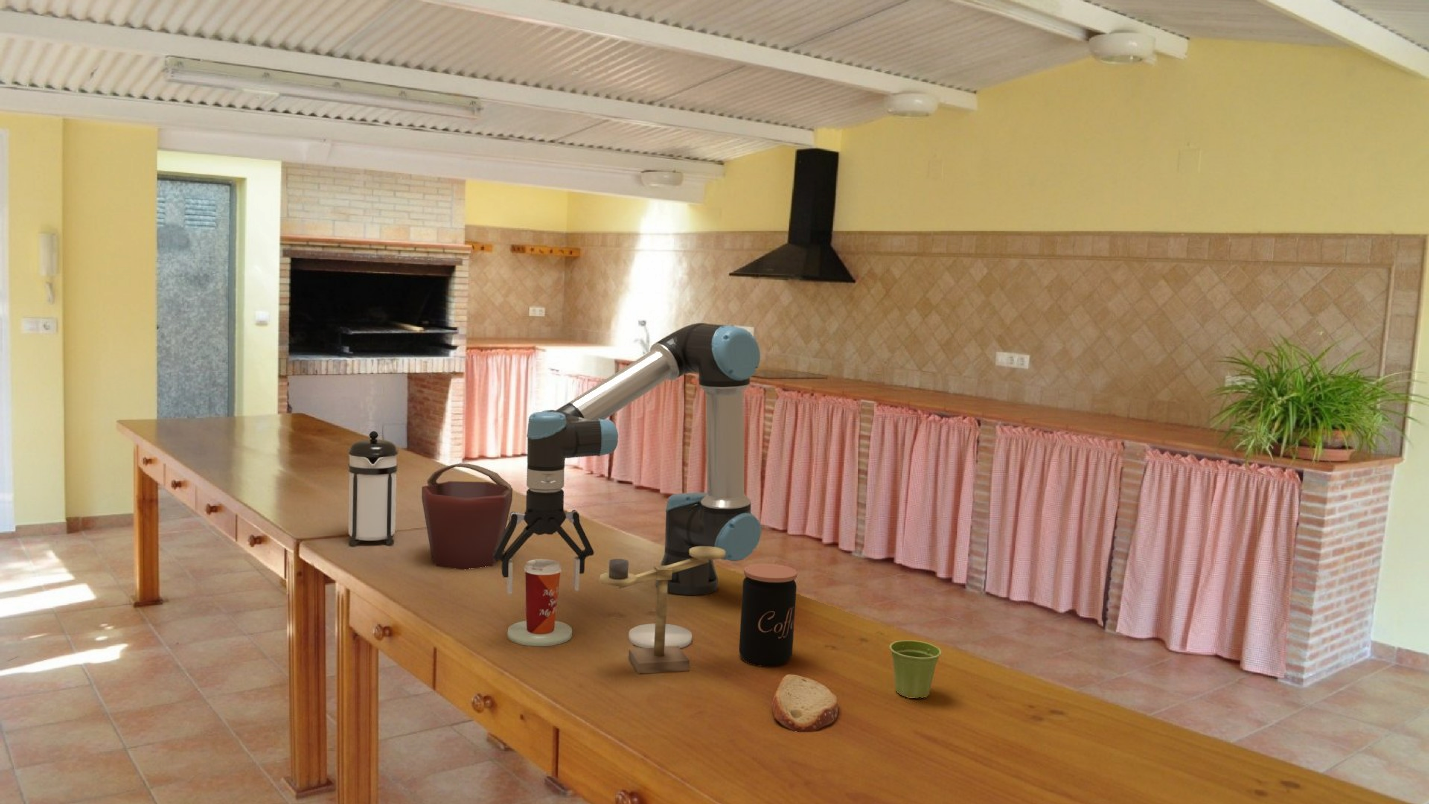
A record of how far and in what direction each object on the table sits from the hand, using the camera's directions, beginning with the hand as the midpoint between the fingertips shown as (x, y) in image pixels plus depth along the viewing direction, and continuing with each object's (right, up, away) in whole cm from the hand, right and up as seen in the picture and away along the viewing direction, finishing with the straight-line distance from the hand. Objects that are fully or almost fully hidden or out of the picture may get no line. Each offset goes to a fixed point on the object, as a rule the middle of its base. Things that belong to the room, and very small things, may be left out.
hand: (543, 590), depth 214 cm
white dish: (+24, -11, +2) cm, 26 cm away
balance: (+24, -12, -12) cm, 30 cm away
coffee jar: (+45, -13, -5) cm, 47 cm away
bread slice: (+50, -16, -28) cm, 60 cm away
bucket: (-29, -2, +53) cm, 61 cm away
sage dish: (-1, -9, +1) cm, 9 cm away
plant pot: (+72, -16, -20) cm, 76 cm away
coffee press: (-58, +1, +69) cm, 90 cm away
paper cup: (-1, -8, +1) cm, 8 cm away
